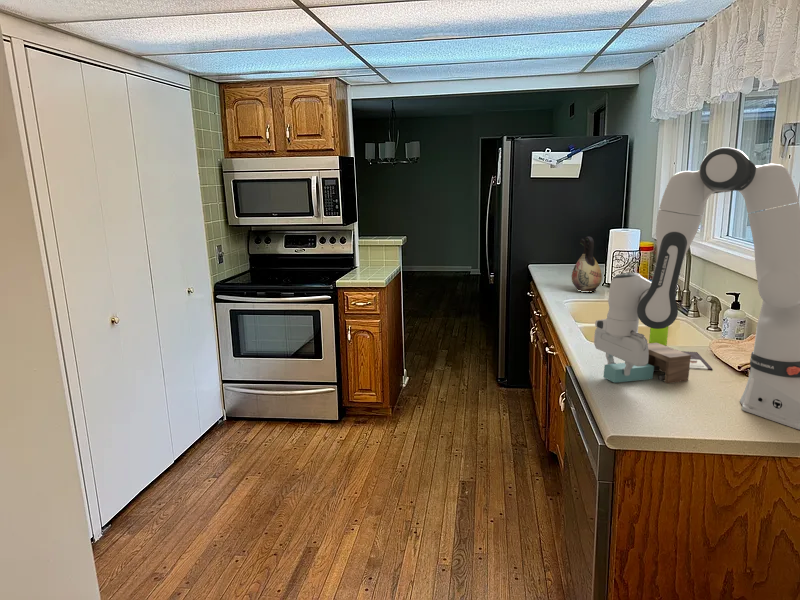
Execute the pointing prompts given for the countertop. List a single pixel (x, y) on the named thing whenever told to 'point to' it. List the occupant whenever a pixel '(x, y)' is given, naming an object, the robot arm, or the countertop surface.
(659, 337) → the soap dispenser
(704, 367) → the chocolate bar
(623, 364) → the case
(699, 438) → the countertop surface
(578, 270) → the ceramic jug
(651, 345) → the shelf
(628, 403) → the countertop surface
